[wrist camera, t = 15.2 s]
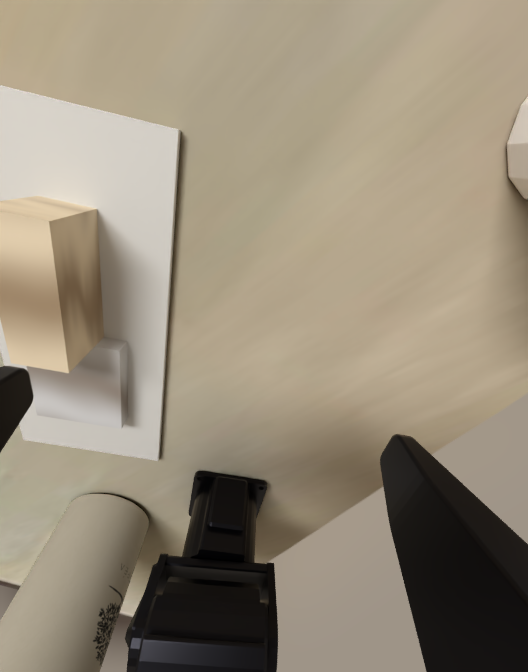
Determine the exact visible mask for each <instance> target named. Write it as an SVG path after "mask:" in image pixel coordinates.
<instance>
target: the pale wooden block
mask: <svg viewBox="0 0 528 672" xmlns="http://www.w3.org/2000/svg"><path fill="white" fill-rule="evenodd" d="M0 320H1V324H2V328H3V332H4V336H5V341H6V345H7V349H8V353H9V357H10V361H11V363H13V364H19V365H24V366H27V371H28V372H29V375H30V380H31V385H32V390H33V395H34V397H33V399H34V403H35V408H36V413H37V415H39V416H45V417H51V418H57V419H63V420H69V421H75V422H82V423H88V424H94V425H100V426H106V427H112V428H118V429H122V427H123V426H124V424H125V422H126V420H127V419H128V359H127V341H124V340H119V339H113V338H108V337H104V326H103V308H102V290H101V273H100V255H99V237H98V219H97V209H96V208H91V207H87V206H82V205H78V204H73V203H69V202H64V201H60V200H55V199H51V198H46V197H42V196H32V197H25V198H18V199H11V200H4V201H0Z"/></svg>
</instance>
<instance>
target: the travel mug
mask: <svg viewBox="0 0 528 672" xmlns="http://www.w3.org/2000/svg"><path fill="white" fill-rule="evenodd" d="M148 527H149V520H148V517H147V515H146V514H145V512H144V511H143V510H142V509H141V508H139V507H138V506H137V505H135V504H134V503H132V502H131V501H129V500H126V499H124V498H121V497H119V496H115V495H111V494H88V495H83V496H80V497H77V498H75V499H74V500H73V501H71V503H70V504H69V506H68V507H67V509H66V511H65V512H64V514H63V516H62V518H61V519H60V521H59V523H58V524H57V526H56V528H55V529H54V531H53V533H52V534H51V536H50V538H49V539H48V541H47V543H46V545H45V546H44V548H43V550H42V551H41V553H40V555H39V556H38V558H37V560H36V561H35V563H34V565H33V567H32V568H31V570H30V572H29V573H28V575H27V577H26V578H25V580H24V582H23V583H22V585H21V587H20V588H19V590H18V592H17V594H16V595H15V597H14V599H13V601H12V602H11V604H10V605H9V607H8V609H7V610H6V612H5V614H4V616H3V617H2V619H1V621H0V672H100V669H101V666H102V663H103V660H104V657H105V654H106V651H107V648H108V645H109V642H110V639H111V636H112V633H113V630H114V627H115V624H116V621H117V618H118V615H119V612H120V610H121V607H122V604H123V601H124V598H125V595H126V592H127V589H128V586H129V583H130V580H131V577H132V574H133V571H134V568H135V565H136V562H137V559H138V556H139V553H140V550H141V547H142V544H143V541H144V539H145V536H146V533H147V530H148Z"/></svg>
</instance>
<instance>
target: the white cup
mask: <svg viewBox="0 0 528 672" xmlns="http://www.w3.org/2000/svg"><path fill="white" fill-rule="evenodd" d="M507 159H508V176H509V178H510V180H511V181H512V182H513V184H514V185H515V187H516V188H517V189H518V191H519V192H520V194H521V195H522V197H523V198H524V199H527V200H528V97H527V98H526V99H525V100H524V102H523V103H522V104H521V106H520V109H519V112H518V114H517V117H516V120H515V123H514V125H513V128H512V131H511V134H510V137H509V139H508V142H507Z"/></svg>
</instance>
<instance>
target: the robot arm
mask: <svg viewBox="0 0 528 672" xmlns="http://www.w3.org/2000/svg"><path fill="white" fill-rule="evenodd" d="M33 397H34V395H33V390H32V385H31V380H30V375H29V372H28V371H27V370H26V369H24V368H20V367H14V366H3V367H0V452H1V451H2V449H3V448H4V446H5V444H6V443H7V441H8V440H9V438H10V437H11V435H12V434H13V432H14V431H15V429H16V428H17V426H18V425H19V423H20V422H21V420H22V418H23V417H24V415H25V414H26V412H27V411H28V409H29V408H30V406H31V404H32V402H33ZM380 465H381V472H382V479H383V485H384V491H385V498H386V505H387V512H388V517H389V523H390V528H391V532H392V536H393V540H394V544H395V548H396V552H397V556H398V560H399V564H400V568H401V572H402V576H403V580H404V584H405V588H406V592H407V596H408V600H409V604H410V608H411V611H412V615H413V619H414V623H415V627H416V631H417V635H418V639H419V643H420V647H421V651H422V655H423V659H424V663H425V667H426V671H427V672H528V544H527V543H526V542H525V541H524V540H522V539H521V538H520V537H519V536H518V535H517V534H516V533H515V532H514V531H513V530H511V528H510V527H508V526H507V525H506V524H505V523H504V522H503V521H502V520H501V519H500V518H499V517H498V516H497V515H495V514H494V513H493V512H492V511H491V510H490V509H489V508H488V507H487V506H486V505H485V504H484V503H482V502H481V501H480V500H479V499H478V498H477V497H476V496H475V495H474V494H473V493H472V492H471V491H469V490H468V489H467V488H466V487H465V486H464V485H463V484H462V483H461V482H460V481H459V480H458V479H457V478H456V477H454V476H453V475H452V474H451V473H450V472H449V471H448V470H447V469H446V468H445V467H444V466H443V465H441V464H440V463H439V462H438V461H437V460H436V459H435V458H434V457H433V456H432V455H431V454H430V453H429V452H428V451H426V450H425V449H424V448H423V447H422V446H421V445H420V444H419V443H418V442H417V441H416V440H415V439H413V438H412V437H410V436H406V435H400V434H395V435H394V436H392V438H391V439H390V441H389V443H388V444H387V446H386V448H385V449H384V451H383V453H382V455H381V458H380ZM266 489H267V483H266V482H265V481H261V480H255V479H248V478H242V477H235V476H229V475H223V474H216V473H210V472H203V471H198V472H196V473H195V477H194V482H193V488H192V495H191V501H190V508H189V515H190V516H191V519H190V524H189V528H188V533H187V537H186V541H185V546H184V550H183V555H182V557H179V556H168V554H161V555H160V557H159V560H158V563H157V564H155V565H153V567H152V571H151V574H150V577H149V581H148V584H147V587H146V590H145V592H144V595H143V597H142V599H141V601H140V603H139V606H138V608H137V610H136V612H135V614H134V616H133V618H132V620H131V623H130V625H129V627H128V629H127V632H126V637H125V640H126V643H127V645H128V647H129V652H128V663H127V672H276V670H277V652H278V624H277V606H276V589H275V573H274V563H267V564H261V563H254V555H255V533H256V518H257V515H258V512H259V509H260V506H261V504H262V501H263V498H264V495H265V492H266Z"/></svg>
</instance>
